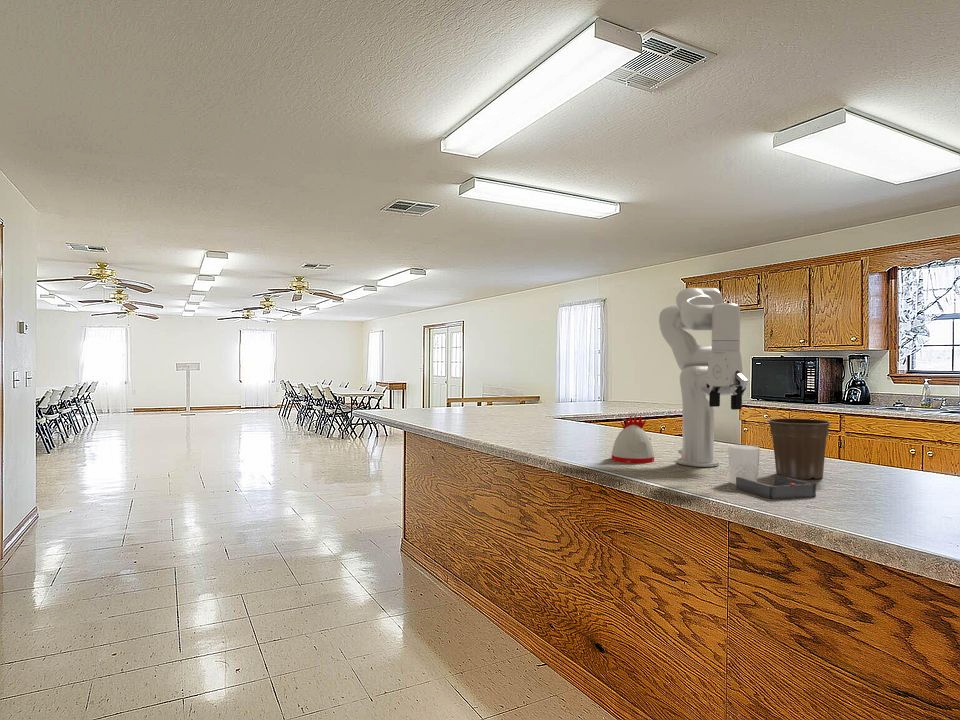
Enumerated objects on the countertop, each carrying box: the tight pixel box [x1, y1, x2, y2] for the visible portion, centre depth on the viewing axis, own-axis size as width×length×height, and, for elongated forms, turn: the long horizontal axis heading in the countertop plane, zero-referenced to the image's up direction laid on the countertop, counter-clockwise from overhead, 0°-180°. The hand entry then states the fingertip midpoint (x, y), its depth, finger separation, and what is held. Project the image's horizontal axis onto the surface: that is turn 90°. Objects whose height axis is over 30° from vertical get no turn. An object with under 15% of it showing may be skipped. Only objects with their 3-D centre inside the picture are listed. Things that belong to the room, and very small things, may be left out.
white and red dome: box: [611, 415, 655, 464], centre depth 208 cm, size 14×14×15 cm
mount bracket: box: [735, 474, 817, 500], centre depth 158 cm, size 13×13×3 cm
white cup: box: [727, 444, 761, 486], centre depth 169 cm, size 8×8×10 cm
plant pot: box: [767, 417, 832, 480], centre depth 180 cm, size 16×16×16 cm
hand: (725, 407), depth 177 cm, fingers open, 8 cm apart
